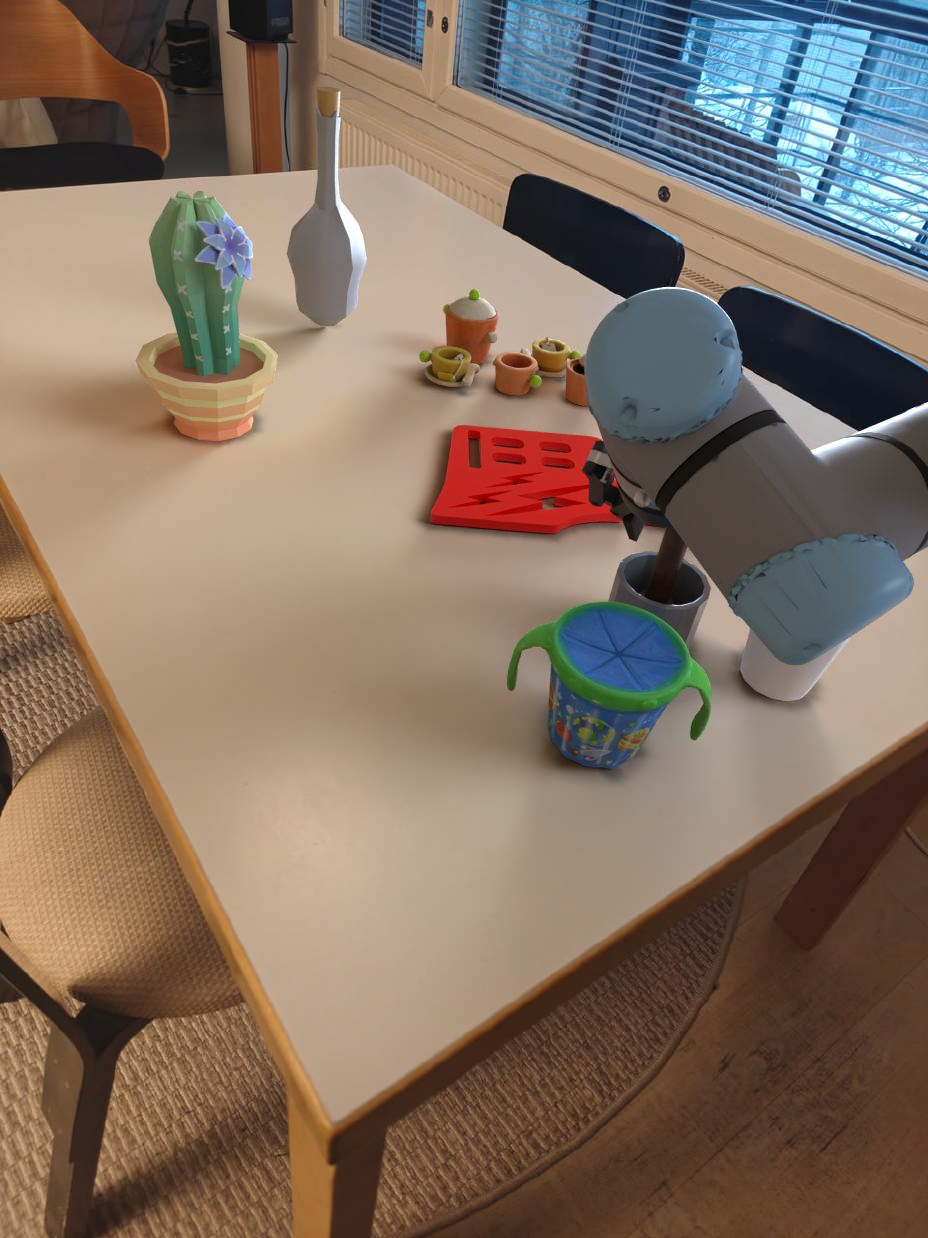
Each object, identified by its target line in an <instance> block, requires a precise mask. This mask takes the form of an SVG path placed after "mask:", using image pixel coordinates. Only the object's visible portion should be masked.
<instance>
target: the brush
mask: <svg viewBox="0 0 928 1238" xmlns="http://www.w3.org/2000/svg"><path fill="white" fill-rule="evenodd" d="M687 551H688V547H687V545H686V544H685V542H684V541H683V540H682V538H681V537H680V536H679V534H678V533H677V531H676V530H675V529H674V528H665V529H664V532H663V536H662V539H661V542H660V545H659V549H658V551H657V552H658V554H657V558H656V561H655V564H654V567H653V570H652V573H651V576H650V579H649V583H648V586H647V589H644V590H642V591H641V592H640V593H639V594H641V595H642V596H644V597H646V598H647V599H649V600H652V601H655V602H659V603H662V604H667V605H674V602H673V599H672V597H671V593H672V591H673V588H674V585H675V582H676V579H677V576H678V573H679V570H680V568H681V565H682V562H683V559H685V556H686V553H687Z"/></svg>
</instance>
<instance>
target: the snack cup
mask: <svg viewBox="0 0 928 1238" xmlns="http://www.w3.org/2000/svg"><path fill="white" fill-rule="evenodd" d="M537 647H539V648H541V649H543V650H545V652H546V653H547V655H548V657H549V660H550V676H549V688H548V703H547V704H548V713H547V727H548V733H549V735H550V738H551V741H552V743H553V744H554V746H555V747H556V748H557V749H558V750H559V752H560V754H561V756H563V757H564V758H566V759H568V760H571V761H575V762H576V763H578V764H580V765H582V766H585V767H590V768H604V769H607V770H614V769H616V768H617V767H618V766H621V765H622V764H623V763H626V762H628V761H629V760H630V759H631V758H633V757H634V756H635V755H636V754H637V753H638V752H639V750H640V748H641V747H642V745H643V744H644V742H645V740H646V739H647V738H648V736H649V735H650V733H651V731H652V730H653V729H654V727H655V726H656V723H657V721H658V720H659V719H660V718H661V716H662V714H663V713H664V711H665V709H666V707H667V706H668V705H669V704H671V702H673V700H675V699H676V698H677V697H678V696H679V694H680V693H681V691H683V690H685V689H686V688H692V689H696V690H698V693H699V696H700V697H701V700H702V705H701V706H700V709H699V710H698V712H697V713H696V714H695V715H694V717H693V718H692V721H691V723H690V730H689V737H690V739H691V740H692V741H697V740H698V739H699V738H700V737H701V735H702V734H703V732H704V731H705V729H706V727H707V725H708V722H709V721H710V720H709V719H710V716H711V711H712V697H713V691H712V686H711V681H710V679H709V676H708V675H707V672H706V671H705V670H704V668H703V667H702V666H701V664H700V663H698V662H697V661H695V660H694V658H692V657H691V654H690V650H689V651H688V648H687V646H686V644H685V643H684V641H683V639H682V638H681V637H680V635H679V634H678V633H677V632H676V631H675V630H674V629H673V628H672V627H671V626H670V625H668V624H667V623H666V622H664V621H663V620H662V619H660V618H658V617H657V616H655V615H653V614H651V613H650V612H648V611H645V610H643V609H640V608H637V607H634V606H631V605H627V604H623V603H618V602H608V601H606V600H605V601H604V600H603V601H591V602H590V601H589V602H586V603H581V604H578V605H574V606H573V607H571V608H568V609H567V610H566V611H564V612H563V613H562V614H561V615H560V616H559V617H558V618H557V619H556V620H555V621H551V622H546V623H542V624H540V625H537V626H535V627H533V628H530V629H529V630H528V631H527V632H526V633H524V634H523V636H522V637H520V639H519V640H518V641H517V643H516V645H515V646H514V649H513V652H512V655H511V658H510V661H509V665H508V668H507V674H506V687H507V690H508V691H509V692H512V691H514V690H515V688H516V686H517V680H518V673H519V664H520V660H521V657H522V652H523V651H526V650H528V649H532V648H537Z"/></svg>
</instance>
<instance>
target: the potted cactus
mask: <svg viewBox="0 0 928 1238" xmlns="http://www.w3.org/2000/svg"><path fill="white" fill-rule="evenodd" d="M148 244H149V249H150V255H151V260H152V266H153V270H154V276H155V281H156V283H157V286H158V288H159V290H160V291H161V294H162V295H163V297H164V299H165V301H166V303H167V305H168V306H169V308H170V312H171V315H172V320H173V323H174V327H175V330H176V331H175V332H171V333H166V334H164V335H162V336H160V337H158V338H155V339H153V340H150V341H148V342H146V343H145V344H143V345H142V346H141V349H140V351H139V353H138V355H137V356H136V359H135V363H136V365H137V368H138V371H139V373H140V374H141V375H142V377H143V378H144V380H145V381H146V382H147V384H148V385H149V386H150V387H151V388H152V389H153V390H154V392H155V394H156V395H157V398H158V399H159V400H160V402H161V403H162V405H163V406H164V407H165V409H167V411H168V412H170V414H171V415H172V416H174V421H173V425H174V426H175V427H176V429H177V430H178V431H179V433H180V434H181V435H184V436H186V437H189V438H191V439H195V440H198V441H209V442H210V441H211V442H222V441H226V440H227V441H228V440H231V439H237V438H240V437H241V436H243V435H244V434H246V433H247V432H249V431H250V430H252V427H253V422H254V414H255V413H256V412H257V411H258V410H259V408H260V406H261V404H262V402H263V399H264V396H265V393H266V391H267V387H268V386H269V385H271V384H273V383H274V378H275V374H276V369H277V365H278V360H279V355H278V353H277V352H276V351H275V350H274V349H273V348H272V347H270V346H269V344H268V343H266V341H264V340H261V339H258V338H255V337H252V336H249V335H246V334H243V333H241V332H240V327H239V308H238V307H239V306H238V305H239V301H240V297H241V293H242V289H243V286H244V284H245V283H244V282H245V278H246V279H247V280H248V281H251V280H252V261H251V259H253V258H254V252H253V242H252V241H251V240H250V238H249V237H248V236H247V235H246V232H245V229H244V228H243V227H242V226H241V225H238V226H237V224H236V222H235V221H234V220H233V219H232V217H230V215H229V214H228V213H227V211H226V210H225V209H224V208H223V206H222V205H221V203H220V202H219V201H218V200H217V199H216V197H215V196H214V195H213V196H210V197H209V196H208V197H207V196H206V194H205V193H204V191H202V190H197V191H196V192H194V193H193V196H192V197H191V196H190V194H188V192H185V191H183V190H179V191H177V192H176V195H175V196H170V198H169V200H168V201H167V203H166V204H165V206H164V208H163V210H162V211H161V213H160V214H159V216H158V218H157V220H156V222H155V223H154V226H153V228H152V231H151V233H150V235H149V237H148Z"/></svg>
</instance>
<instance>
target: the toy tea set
mask: <svg viewBox="0 0 928 1238" xmlns="http://www.w3.org/2000/svg"><path fill="white" fill-rule="evenodd" d="M480 296H481V293H480V290H479V289H477V288H472V289H471V290H470V291H469V293H468V295H465V296H462V297H460V298H457V299H456V300H454V301H453V302H451V303H446V304H444V306H443V307H442V312H443V314H444V316H445V335H446V336H445V337H446V338H445V339H446V345H440V346H436V347H434V348H433V349H432V350H431V352H430V351H428V350H421V351H420V352H419V355H418V358H419V360H420V361H421V363H424V364H425V363H428V362H430V361H431V363H430V364H428V365H427V366H426V367H425V370H424V375H425V377H426V378H427V380H428V381H431V382H432V383H434V384H437V385H439V386H442V387H450V388H457V387H471V386H472V385H473V382H474V378H475V375H477V374H478V373H479V372H480V368H481V367H480V364H482V363H484V362H485V361H486V360H487V359H488V356H489V353H490V351H491V346H492V344H495V343H496V342H497V341H498V333H496V330H497V326H498V323H499V321H500V313H499V312H498V310H497V309H496V308H494V307H493V305H492V304H491V303H490V302H489V301H487V300H486V299H485V298H483V297H480ZM531 346H532V347H531V351H532V352H530V350H529V349H527V348H526V347H522V348H520V352H517V351H506V352H502V353H499V354H497V355H496V356H495V358H494V360H493V361H492V365H493V366H494V367H495V371H494V373H495V377H494V378H495V388H496V389H497V390H498V391H499V392H501V393H503V394H505V395H509V396H523V395H526V394H527V393H529V391H530V388H531V387H533V388H539V387H541V385H542V382H543V380H542V378H541V377H545V378H559V377H564V376H565V390H564V391H565V393H564V395H565V397H566V399H567V400H568V401H570V402H571V403H573V404H575V405H579V406H585V407H586V406H587V407H588V405H589V403H588V401H587V399H586V396H587V391H586V388H587V384H586V380H585V372H584V364H585V357H586V353H584V354H583V355H582V354H581V352H579V351H578V350H572V351H571V347H570V346H569V344H568V343H566V342H563V341H561V340H558V339H555V338H549V337H548V336H547V337H546V338H545V337H544V338H538V339H534V340H533V342H532V344H531ZM568 359H569V360H568Z"/></svg>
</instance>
